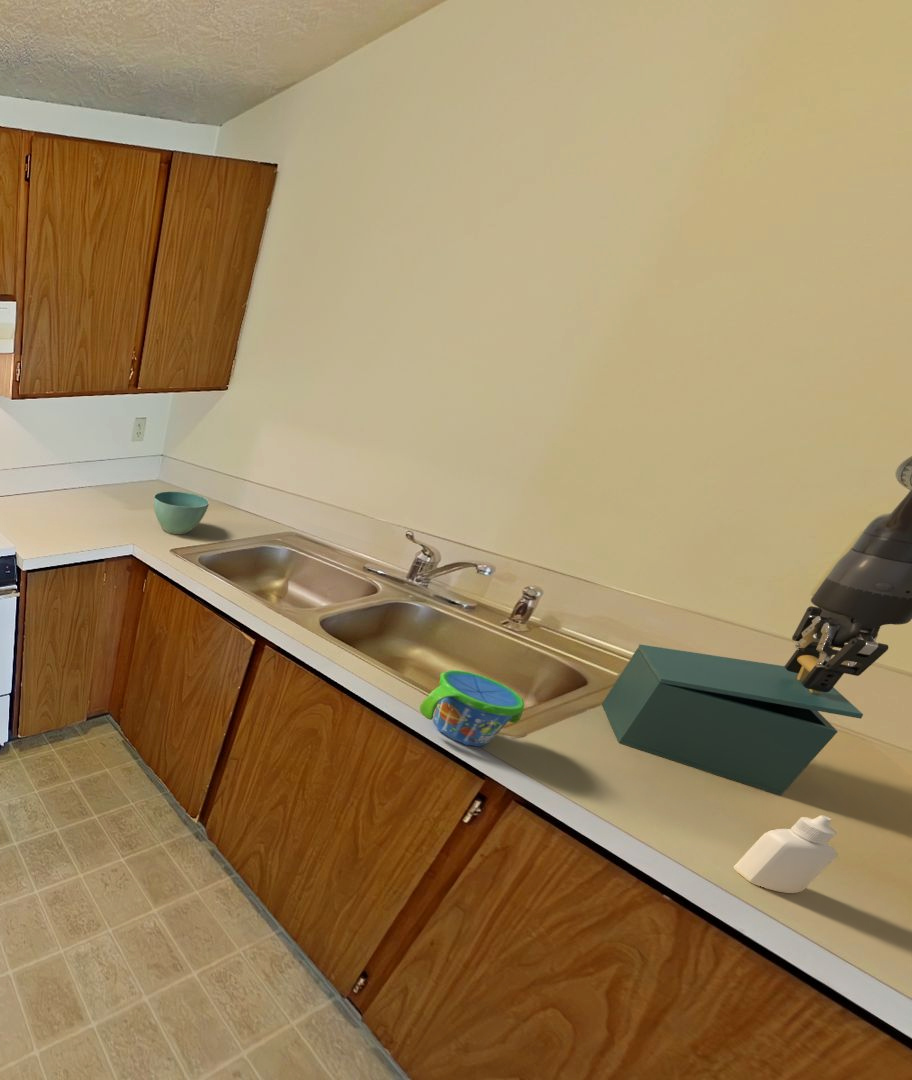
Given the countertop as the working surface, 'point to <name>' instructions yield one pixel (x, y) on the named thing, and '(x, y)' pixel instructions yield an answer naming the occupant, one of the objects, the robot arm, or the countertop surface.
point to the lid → (745, 679)
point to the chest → (715, 729)
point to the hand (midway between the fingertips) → (804, 679)
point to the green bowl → (179, 511)
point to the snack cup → (471, 707)
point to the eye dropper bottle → (789, 856)
